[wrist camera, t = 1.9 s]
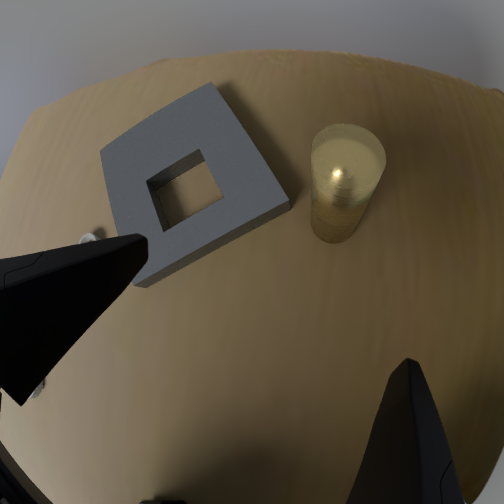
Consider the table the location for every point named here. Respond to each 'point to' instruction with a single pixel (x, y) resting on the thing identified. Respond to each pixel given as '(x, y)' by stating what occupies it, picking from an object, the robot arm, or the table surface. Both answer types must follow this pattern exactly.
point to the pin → (343, 178)
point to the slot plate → (177, 162)
